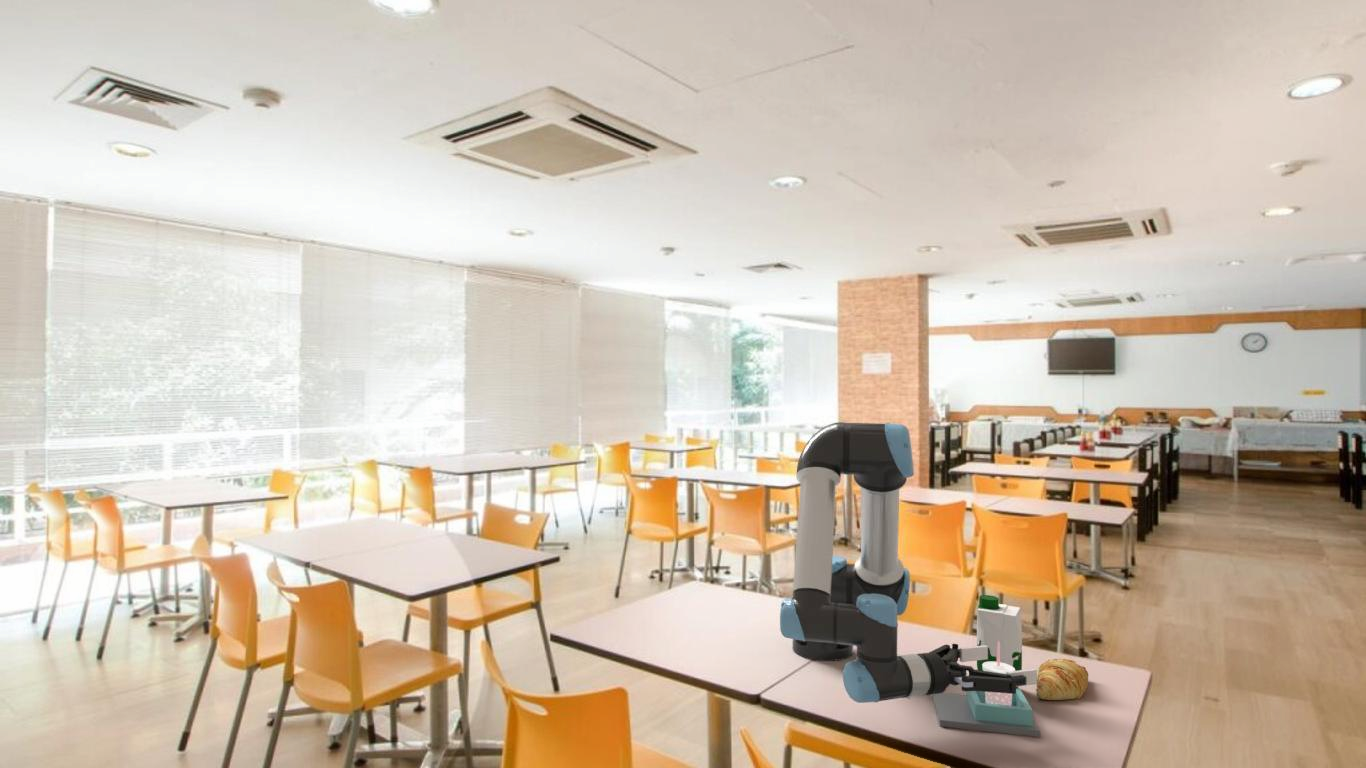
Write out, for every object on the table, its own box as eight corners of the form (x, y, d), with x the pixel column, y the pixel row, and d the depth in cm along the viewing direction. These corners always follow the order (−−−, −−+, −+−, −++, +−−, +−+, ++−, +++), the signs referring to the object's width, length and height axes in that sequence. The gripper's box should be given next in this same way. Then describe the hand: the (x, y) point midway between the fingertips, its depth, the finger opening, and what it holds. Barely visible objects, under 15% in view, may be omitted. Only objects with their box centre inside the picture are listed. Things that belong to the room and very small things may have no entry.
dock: (939, 726, 140) (940, 704, 140) (931, 697, 154) (931, 677, 154) (1039, 737, 136) (1039, 714, 136) (1022, 706, 149) (1022, 686, 150)
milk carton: (980, 678, 164) (981, 591, 164) (1024, 687, 159) (1024, 597, 160) (973, 691, 157) (974, 600, 157) (1018, 701, 152) (1019, 607, 152)
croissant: (1053, 724, 149) (1072, 696, 147) (1011, 687, 156) (1028, 660, 153) (1094, 695, 163) (1112, 669, 160) (1053, 663, 170) (1070, 638, 167)
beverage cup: (1013, 721, 140) (1014, 649, 140) (980, 713, 143) (980, 643, 143) (1016, 709, 145) (1016, 640, 145) (983, 702, 148) (984, 634, 148)
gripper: (884, 670, 151) (968, 660, 157) (963, 721, 127) (1058, 708, 133) (884, 634, 151) (968, 626, 157) (963, 679, 127) (1058, 667, 133)
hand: (1010, 663), depth 145 cm, fingers open, 13 cm apart
